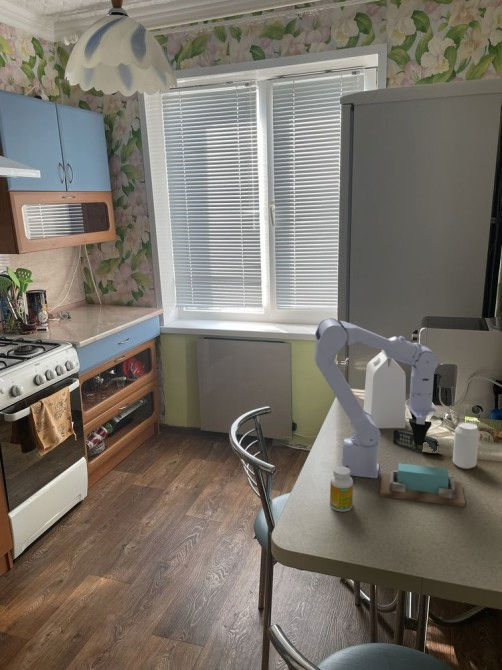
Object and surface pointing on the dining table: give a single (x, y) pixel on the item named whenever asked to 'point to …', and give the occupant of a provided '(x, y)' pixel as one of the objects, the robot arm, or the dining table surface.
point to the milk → (385, 392)
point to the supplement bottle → (341, 489)
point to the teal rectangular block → (422, 477)
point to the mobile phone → (412, 440)
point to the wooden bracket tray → (444, 497)
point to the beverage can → (466, 445)
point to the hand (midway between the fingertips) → (418, 438)
